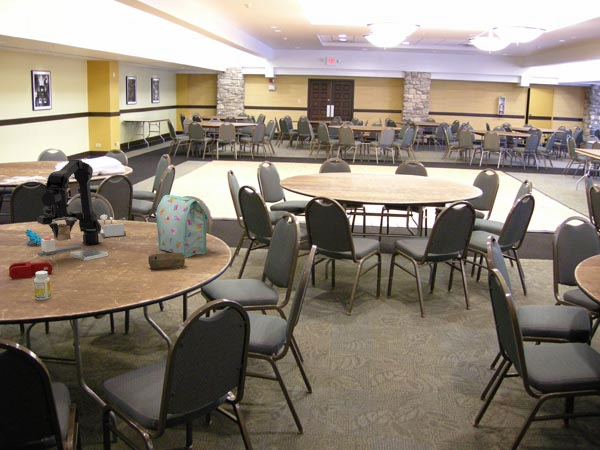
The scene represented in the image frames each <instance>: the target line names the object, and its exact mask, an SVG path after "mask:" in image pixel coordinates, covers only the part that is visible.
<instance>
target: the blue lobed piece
mask: <svg viewBox="0 0 600 450" xmlns="http://www.w3.org/2000/svg"><path fill="white" fill-rule="evenodd" d="M25 234H26V237H28V239H29V241H28V242H26V246H29V245H30V244H31V243H34V244H36V245H37V246H39V245H40V246H41V239H42V238H41V235H40V234H37V232H35V231H33V230H32V229H28V228H27V229H26V230H25Z"/></svg>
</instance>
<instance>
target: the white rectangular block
mask: <svg viewBox="0 0 600 450" xmlns="http://www.w3.org/2000/svg"><path fill="white" fill-rule="evenodd" d="M40 247H41V252H42V251H44V252H50V251H55V249H56V239H54V238H52V236H44V237H43V238H41V245H40Z"/></svg>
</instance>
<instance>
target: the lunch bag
mask: <svg viewBox="0 0 600 450" xmlns="http://www.w3.org/2000/svg"><path fill="white" fill-rule="evenodd" d="M155 216H156V217H155V218H156V227H157V230H156V231H157V241H158V249H160V250H162V251H166V252H168V253H181V254H183V255H184V258H185V259H188V258H190V257H192V256H195V255H205V254H206V253H207V251H208V249H207V220H209V216H208V214H207V213H206V211H205V210H204V207H202V205H201V203H200V202H199V201H198V200H197V199H193V198H192V197H185V196H181V195H180V196H179V195H173V194H165V195H163V196H162V198H161V199H160V202H159V203H158V205H157V208H156V215H155Z"/></svg>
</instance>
